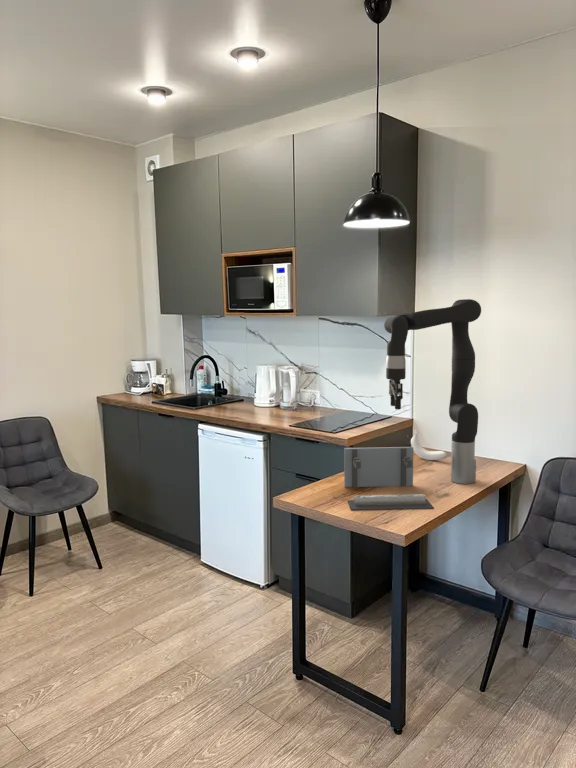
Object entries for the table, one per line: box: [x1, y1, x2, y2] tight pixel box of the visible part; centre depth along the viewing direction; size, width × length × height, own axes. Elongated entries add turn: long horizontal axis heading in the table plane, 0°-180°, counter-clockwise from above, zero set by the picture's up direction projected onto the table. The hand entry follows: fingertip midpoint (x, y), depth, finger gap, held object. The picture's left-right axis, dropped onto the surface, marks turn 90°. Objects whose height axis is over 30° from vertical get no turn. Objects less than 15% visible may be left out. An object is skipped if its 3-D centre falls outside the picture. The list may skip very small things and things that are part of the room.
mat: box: [347, 498, 435, 511], centre depth 212 cm, size 30×10×1 cm, turn 91°
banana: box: [410, 429, 447, 461], centre depth 274 cm, size 5×19×15 cm, turn 49°
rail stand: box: [343, 446, 414, 489], centre depth 228 cm, size 28×13×16 cm, turn 91°
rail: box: [353, 493, 427, 506], centre depth 211 cm, size 26×2×3 cm, turn 91°
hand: (395, 407), depth 228 cm, fingers open, 8 cm apart
